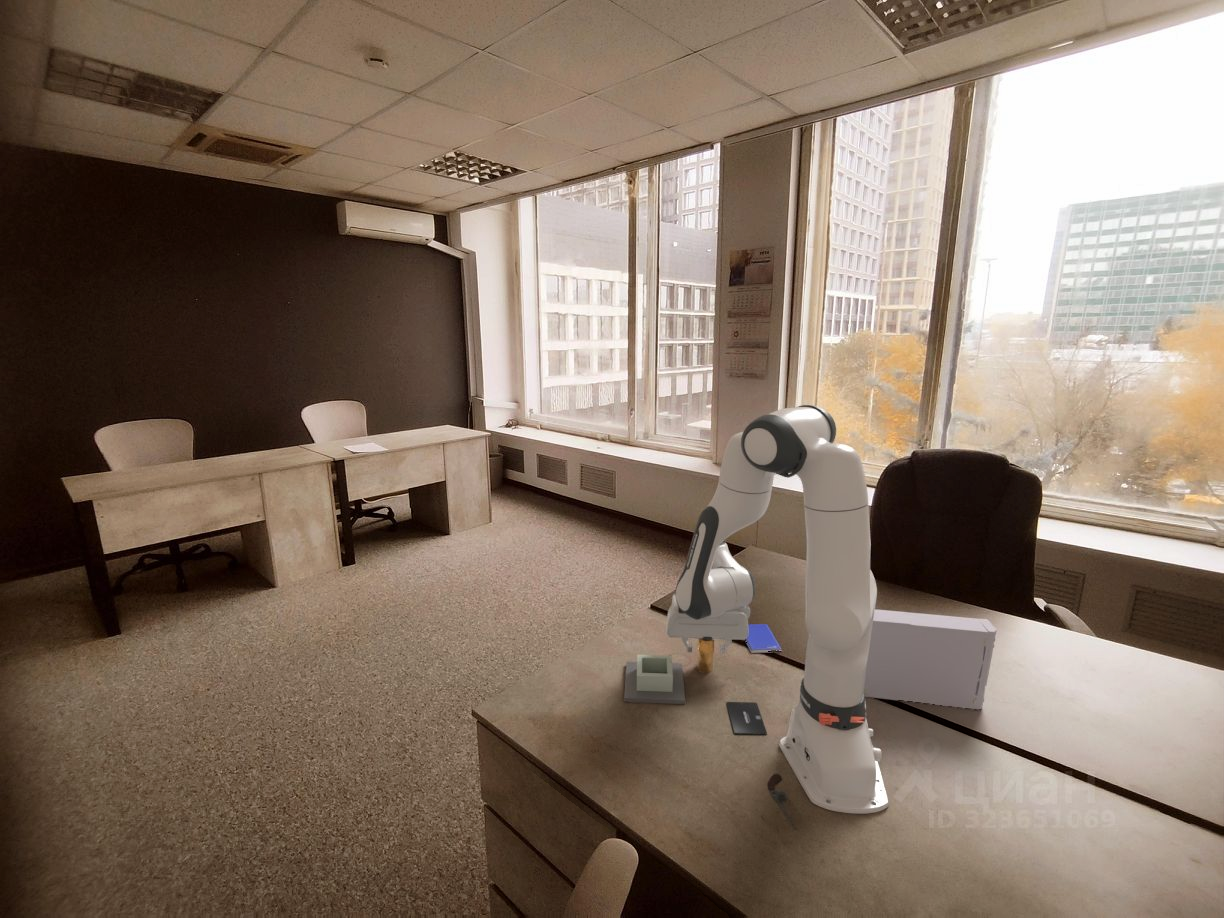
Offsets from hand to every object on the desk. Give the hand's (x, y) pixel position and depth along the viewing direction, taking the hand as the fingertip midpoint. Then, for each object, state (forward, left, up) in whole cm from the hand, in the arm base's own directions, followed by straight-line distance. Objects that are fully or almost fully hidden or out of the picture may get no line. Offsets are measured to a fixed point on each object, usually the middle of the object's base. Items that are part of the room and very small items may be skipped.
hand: (705, 651), depth 137 cm
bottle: (0, 0, -5) cm, 5 cm away
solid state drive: (-18, -7, -5) cm, 20 cm away
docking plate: (-7, +13, -5) cm, 15 cm away
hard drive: (+14, -16, -5) cm, 22 cm away
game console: (-8, -48, -5) cm, 49 cm away
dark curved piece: (-40, -11, -5) cm, 42 cm away
